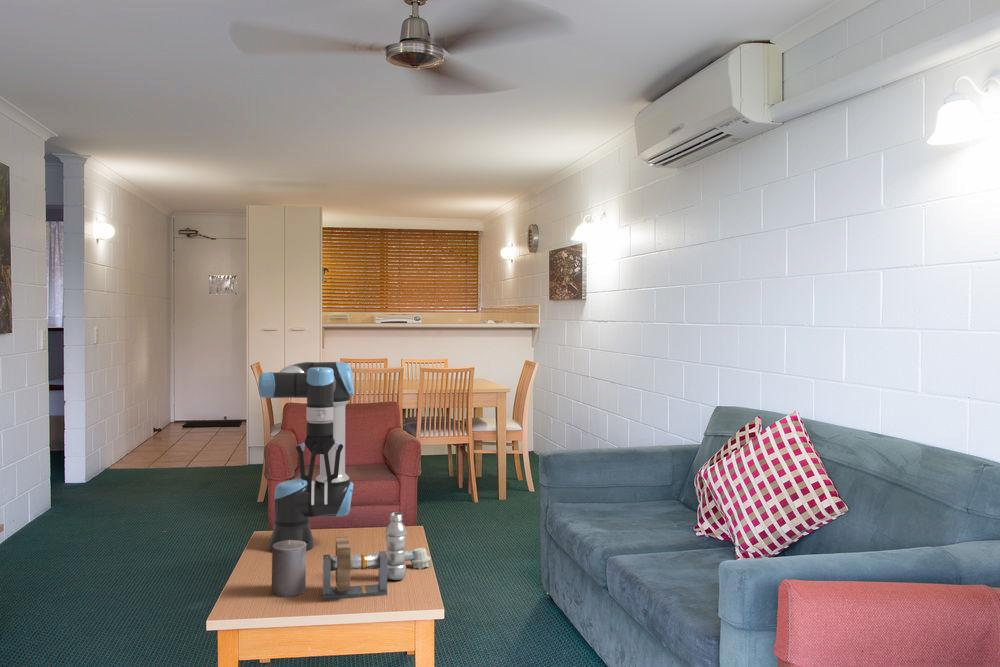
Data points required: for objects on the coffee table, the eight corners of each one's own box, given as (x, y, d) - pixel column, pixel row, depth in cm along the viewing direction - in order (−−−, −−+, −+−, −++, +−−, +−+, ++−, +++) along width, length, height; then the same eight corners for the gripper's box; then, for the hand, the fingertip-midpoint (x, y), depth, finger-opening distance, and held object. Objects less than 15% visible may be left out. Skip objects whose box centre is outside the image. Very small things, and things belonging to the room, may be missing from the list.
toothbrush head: (351, 553, 252) (428, 542, 254) (354, 574, 252) (431, 562, 254) (349, 558, 247) (428, 547, 249) (352, 579, 247) (430, 567, 249)
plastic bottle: (395, 574, 243) (396, 510, 243) (410, 579, 239) (411, 513, 239) (380, 579, 238) (380, 514, 238) (395, 584, 234) (395, 517, 234)
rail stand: (322, 591, 227) (322, 553, 227) (384, 587, 231) (385, 549, 231) (323, 599, 220) (323, 560, 220) (387, 594, 225) (387, 556, 224)
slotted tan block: (335, 577, 230) (335, 537, 230) (347, 576, 231) (347, 536, 231) (337, 591, 218) (337, 548, 218) (350, 590, 219) (350, 547, 219)
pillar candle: (264, 591, 226) (265, 540, 226) (293, 583, 234) (294, 533, 233) (283, 600, 220) (284, 547, 220) (312, 591, 227) (313, 540, 227)
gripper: (290, 423, 217) (290, 507, 217) (349, 422, 221) (348, 505, 221) (291, 420, 224) (290, 502, 224) (347, 419, 228) (346, 499, 229)
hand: (319, 503), depth 223 cm, fingers open, 3 cm apart
